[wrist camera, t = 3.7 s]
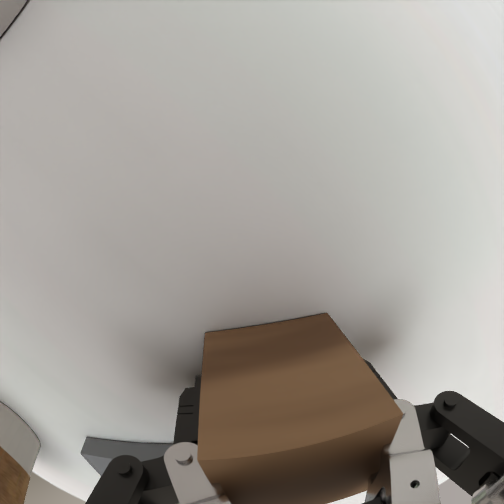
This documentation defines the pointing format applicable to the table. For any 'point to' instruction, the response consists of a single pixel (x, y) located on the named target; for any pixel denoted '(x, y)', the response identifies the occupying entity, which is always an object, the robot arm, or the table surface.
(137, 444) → the stack base
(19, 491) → the coffee cup
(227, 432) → the walnut block
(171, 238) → the table surface
